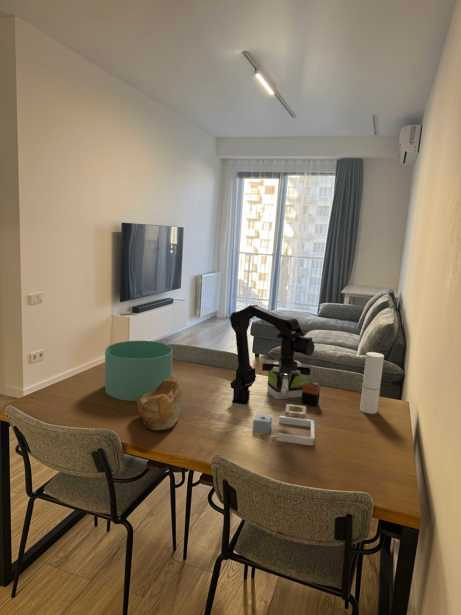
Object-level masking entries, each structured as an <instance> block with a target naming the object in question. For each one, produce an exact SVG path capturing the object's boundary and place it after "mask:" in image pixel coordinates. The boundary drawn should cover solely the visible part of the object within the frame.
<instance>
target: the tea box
mask: <svg viewBox="0 0 461 615" xmlns="http://www.w3.org/2000/svg"><path fill="white" fill-rule="evenodd" d="M295 361H296V362H297V366H301V364H303V363H301V362H300V361H298V360H295ZM274 364H279V361H274ZM291 374H292V373H291ZM291 374H290V378H291ZM281 376H282V374H281ZM290 378H289V383H290ZM306 381H307V375H302V374H301V373H300V372H299V376H296V377H295V378H294V380H293V382H292V385H291V387H290V389H289V393H288V394H286V395H285V394H281V388H280V385H279V381H278V378H277V376H276V374H274V373H273V368H272V370H271V371H267V387H266V388H267V393H268V394H269V395H271V396H272V397H273V399H275V400H282V399H291V398H292V399H293V398H302V388H303V384H304V383H305V382H306Z"/></svg>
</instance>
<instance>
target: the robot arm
mask: <svg viewBox="0 0 461 615" xmlns="http://www.w3.org/2000/svg"><path fill="white" fill-rule="evenodd" d="M254 317H255V318H257V319H259V320H262V321H264V322H266V323H267V324H271V325H272V326H274V328H275V329H276V330H277V331H279V333H278V334H276V338H277V339H280V349H279V350H280V351H279V360H278V362H279V364H274V362H275V361H274V360H267V359H266V360H264V361H263V363H262V365H261V366H262V367H261V371H263V372H264V371H265V372H268V371H271V370H272V368H273V373H274V374H276V376H277V378H278V381H279V385H280V388H281V385H282V376H281V374H283V373H285V374H291V373H292V374H291V378H290V383H289V389H290V387H291V385H292V382H293V380H294V378H295V377H296V376H299V372H300V373H301V374H302V375H306V376H310V375H311V368H312V366H311V364H309V363H308V364H306V363H302V364H301V366H297V362H296V361H297V360H295V358H296V357H295V356H296V355H295V354H296V353H297V354H300V355H303V356H308V357H310V356H312V355H313V353H315V352H314V351H315V348H316V347H315V344H314V341H313V337H308V336H305V334H304V332H303V330H302V329H301V326H300V324H299V320H298V319H297V318H294V317H291V316H283V315H279V314H277V313H275V312H273V311H270V310H268V309H266V308H264V307H261V306H259V305H258V304H251V305H248V306H247V307H245V308H243V309H241V310H237V311H234V312H232V313H230V315H229V320H230V321H229V322H230V326H231V328H232V330H233V331H234V333H235V341H236V342H235V343H236V353H237V363H238V364H237V365H238V366H237V369H236V372H235V379H234V380H232V381H231V382H230V388H231V389H233V392H232V394H233V395H232V400H231V402H232V403H236V404H244V405H247V404H248V402H249V401H250V393H251V390H250V388H251V387H252V386H253V384H254V383H255V381H256V378H257V374H256V368H253V367H252V365H251V362H250V361H251V360H250V350H249V340H248V329H249V327H250V323H251V322H250V321H251V319H253V318H254Z"/></svg>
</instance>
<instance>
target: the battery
mask: <svg viewBox="0 0 461 615" xmlns="http://www.w3.org/2000/svg"><path fill="white" fill-rule="evenodd" d="M320 395H321V384H319V383H318V382H310V381H308V380H306V382H305V383H304V384H303V388H302V397H301V398H300V399H301V404H302V405H304V406H310V407H312V408H313V407H314V408H316V407H317V406H318V405H319V404H320Z"/></svg>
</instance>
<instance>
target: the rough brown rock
mask: <svg viewBox="0 0 461 615" xmlns="http://www.w3.org/2000/svg"><path fill="white" fill-rule="evenodd" d="M182 401H183V390H182V389H181V386H180V382H179V380H178V379H177V378H175V377H174V376H173V375H172V376H170V377H169V378H168V379H166V380H164V381H163V382H162V383H161V384H160V385H159V386H158V387H157V388H156V389H155V390H153V391H151V392H149V393H146V394H144V395H142V396H141V397H140V398H139V399H138V400H137V401H136V404H137V409H138V412H139V415H140V416H141V419H142V422H143V425H144V427H146V429H147V430H153V431H166V430H168V429H169V430H170V429H171V428H172V427H174V426H175V425H176V423H177V420H178V418H179V416H180V414H181V404H182Z"/></svg>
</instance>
